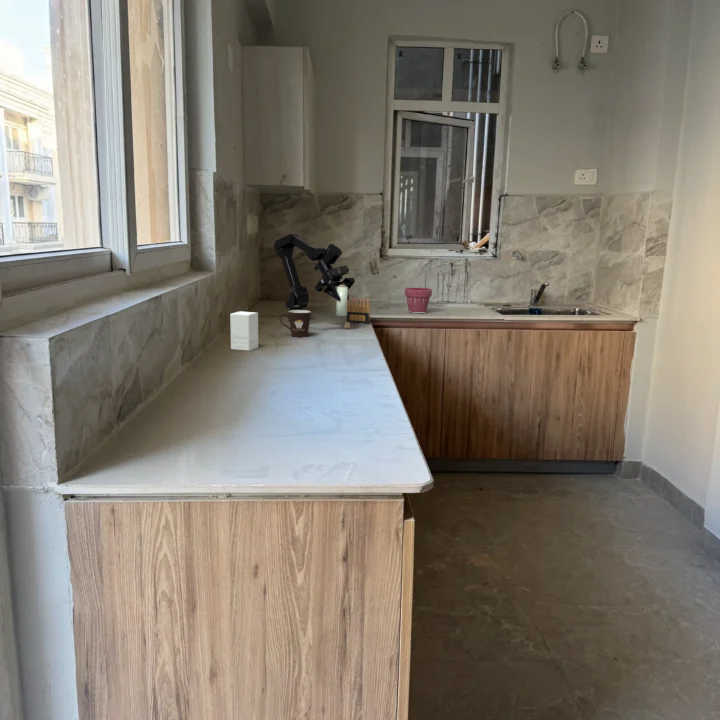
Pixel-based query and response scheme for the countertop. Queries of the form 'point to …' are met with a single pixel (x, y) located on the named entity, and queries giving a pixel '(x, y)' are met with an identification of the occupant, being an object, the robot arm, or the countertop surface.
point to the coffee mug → (298, 322)
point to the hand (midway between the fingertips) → (344, 300)
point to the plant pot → (418, 298)
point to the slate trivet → (324, 326)
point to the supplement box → (244, 330)
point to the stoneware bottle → (342, 300)
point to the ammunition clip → (358, 311)
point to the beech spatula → (347, 325)
